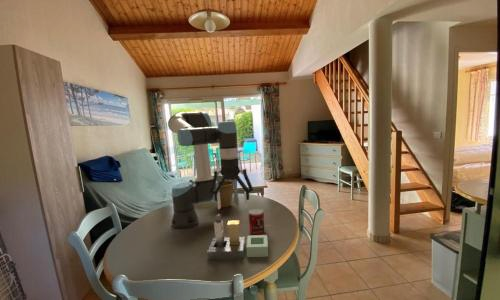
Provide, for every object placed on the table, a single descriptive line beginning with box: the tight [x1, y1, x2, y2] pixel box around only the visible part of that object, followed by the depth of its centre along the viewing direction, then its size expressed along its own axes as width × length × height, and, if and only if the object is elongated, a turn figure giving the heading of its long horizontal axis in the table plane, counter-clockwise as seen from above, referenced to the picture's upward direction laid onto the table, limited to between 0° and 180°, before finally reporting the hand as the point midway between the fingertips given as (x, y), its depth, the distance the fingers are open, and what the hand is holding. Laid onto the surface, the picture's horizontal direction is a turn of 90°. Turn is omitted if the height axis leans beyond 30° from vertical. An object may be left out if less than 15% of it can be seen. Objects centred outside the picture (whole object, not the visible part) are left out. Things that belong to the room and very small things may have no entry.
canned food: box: [248, 208, 265, 235], centre depth 122 cm, size 8×8×11 cm
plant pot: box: [217, 180, 235, 208], centre depth 162 cm, size 15×15×16 cm
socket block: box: [206, 236, 246, 261], centre depth 105 cm, size 12×15×4 cm
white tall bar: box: [213, 213, 225, 247], centre depth 104 cm, size 4×4×17 cm
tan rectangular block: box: [226, 219, 241, 246], centre depth 104 cm, size 4×5×10 cm
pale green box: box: [245, 234, 269, 258], centre depth 104 cm, size 10×9×4 cm
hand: (232, 207), depth 103 cm, fingers open, 11 cm apart
